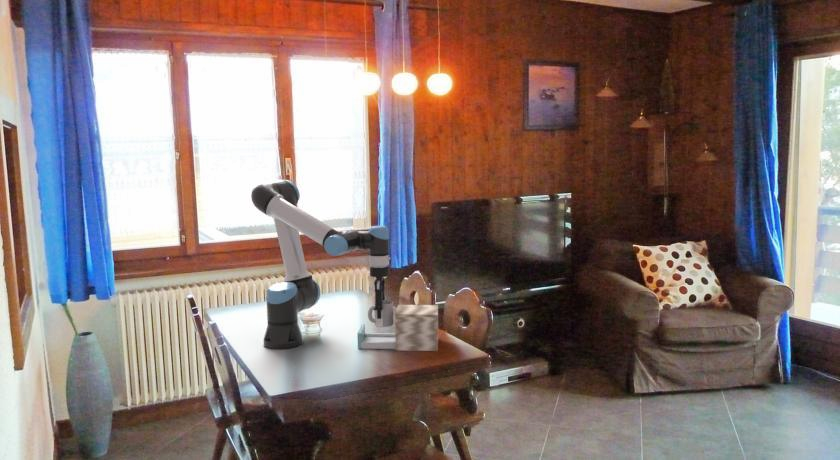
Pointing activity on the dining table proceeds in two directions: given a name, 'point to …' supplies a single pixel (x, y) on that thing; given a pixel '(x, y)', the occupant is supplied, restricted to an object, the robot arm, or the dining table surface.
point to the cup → (387, 313)
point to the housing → (416, 327)
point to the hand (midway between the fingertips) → (380, 323)
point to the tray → (375, 340)
